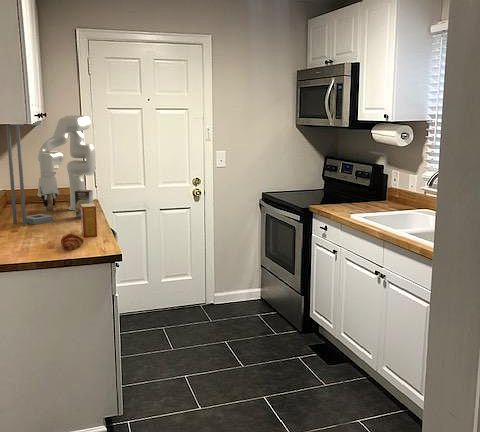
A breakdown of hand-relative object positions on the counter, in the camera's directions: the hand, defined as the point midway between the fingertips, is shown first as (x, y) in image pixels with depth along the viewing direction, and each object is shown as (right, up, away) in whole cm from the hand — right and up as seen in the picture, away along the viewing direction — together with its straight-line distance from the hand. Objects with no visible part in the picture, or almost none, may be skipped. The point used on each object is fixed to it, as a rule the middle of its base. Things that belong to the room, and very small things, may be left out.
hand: (49, 205), depth 308 cm
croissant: (+33, -21, -61) cm, 73 cm away
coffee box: (+17, -7, +11) cm, 22 cm away
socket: (-5, -9, -4) cm, 11 cm away
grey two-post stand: (-8, -10, -8) cm, 15 cm away
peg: (0, -3, +1) cm, 3 cm away
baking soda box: (+34, -16, -38) cm, 54 cm away
